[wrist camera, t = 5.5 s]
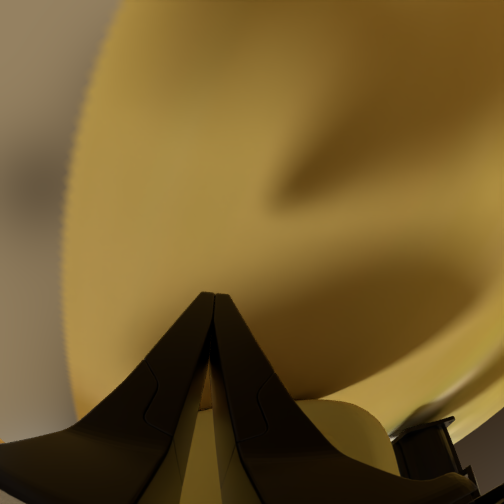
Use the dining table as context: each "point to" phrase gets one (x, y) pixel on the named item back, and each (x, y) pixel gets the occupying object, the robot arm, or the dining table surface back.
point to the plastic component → (323, 417)
